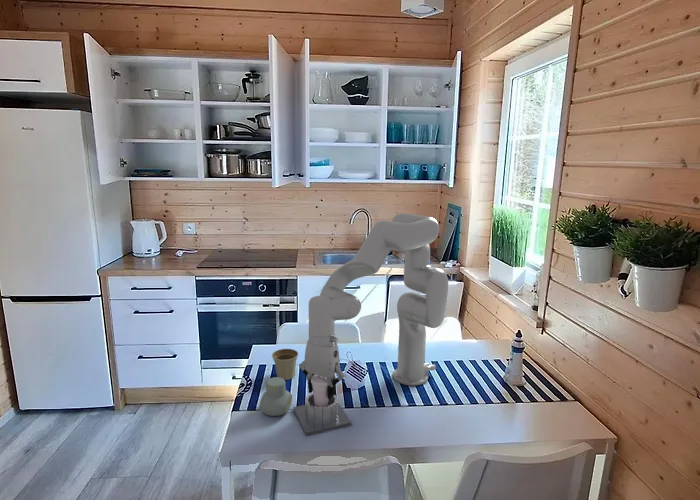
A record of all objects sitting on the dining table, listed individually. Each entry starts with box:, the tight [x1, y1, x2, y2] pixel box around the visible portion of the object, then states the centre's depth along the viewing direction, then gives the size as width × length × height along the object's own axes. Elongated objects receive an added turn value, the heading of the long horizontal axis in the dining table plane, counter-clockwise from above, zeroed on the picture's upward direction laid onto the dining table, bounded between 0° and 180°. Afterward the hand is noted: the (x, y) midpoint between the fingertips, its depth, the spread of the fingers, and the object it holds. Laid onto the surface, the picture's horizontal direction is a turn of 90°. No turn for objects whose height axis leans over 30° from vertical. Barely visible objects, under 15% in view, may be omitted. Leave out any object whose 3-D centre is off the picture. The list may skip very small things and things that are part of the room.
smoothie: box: [311, 374, 332, 407], centre depth 131 cm, size 6×6×14 cm
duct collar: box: [292, 392, 352, 437], centre depth 133 cm, size 14×14×6 cm
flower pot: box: [271, 348, 299, 381], centre depth 157 cm, size 9×9×9 cm
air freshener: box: [259, 376, 293, 417], centre depth 136 cm, size 11×8×10 cm
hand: (321, 393), depth 132 cm, fingers closed on smoothie, 6 cm apart
